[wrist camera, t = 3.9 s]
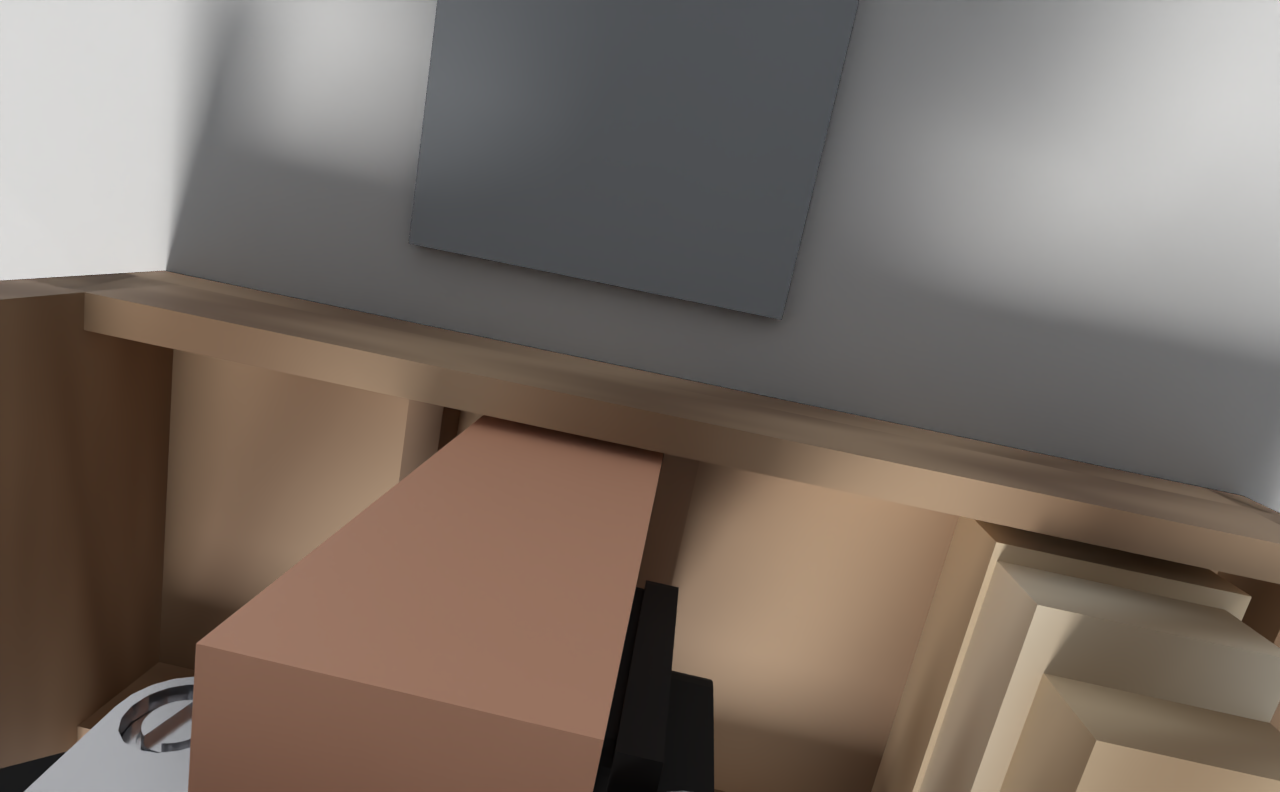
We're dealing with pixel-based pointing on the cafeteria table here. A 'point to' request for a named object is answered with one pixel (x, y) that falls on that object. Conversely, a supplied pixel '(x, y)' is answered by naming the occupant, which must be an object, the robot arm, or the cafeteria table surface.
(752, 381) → the cafeteria table surface
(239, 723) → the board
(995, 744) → the offcut stack
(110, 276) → the rack
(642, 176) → the mat
